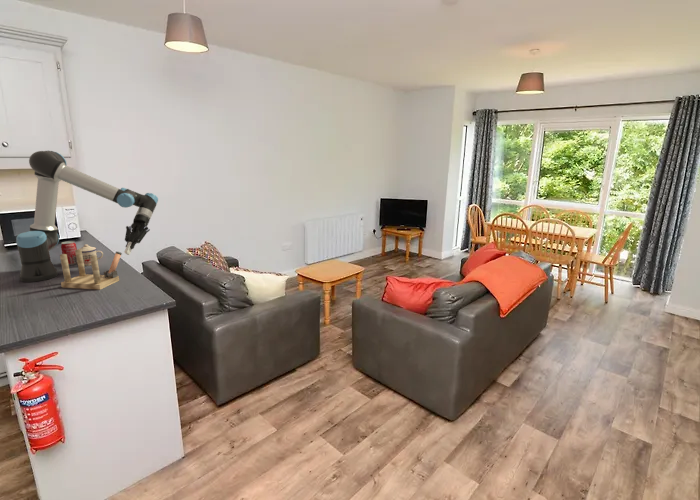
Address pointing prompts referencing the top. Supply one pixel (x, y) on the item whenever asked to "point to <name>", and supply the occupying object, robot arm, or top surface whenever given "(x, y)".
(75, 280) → the stool
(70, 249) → the soda can
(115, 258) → the folding leg
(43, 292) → the top surface
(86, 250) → the teacup with lid
